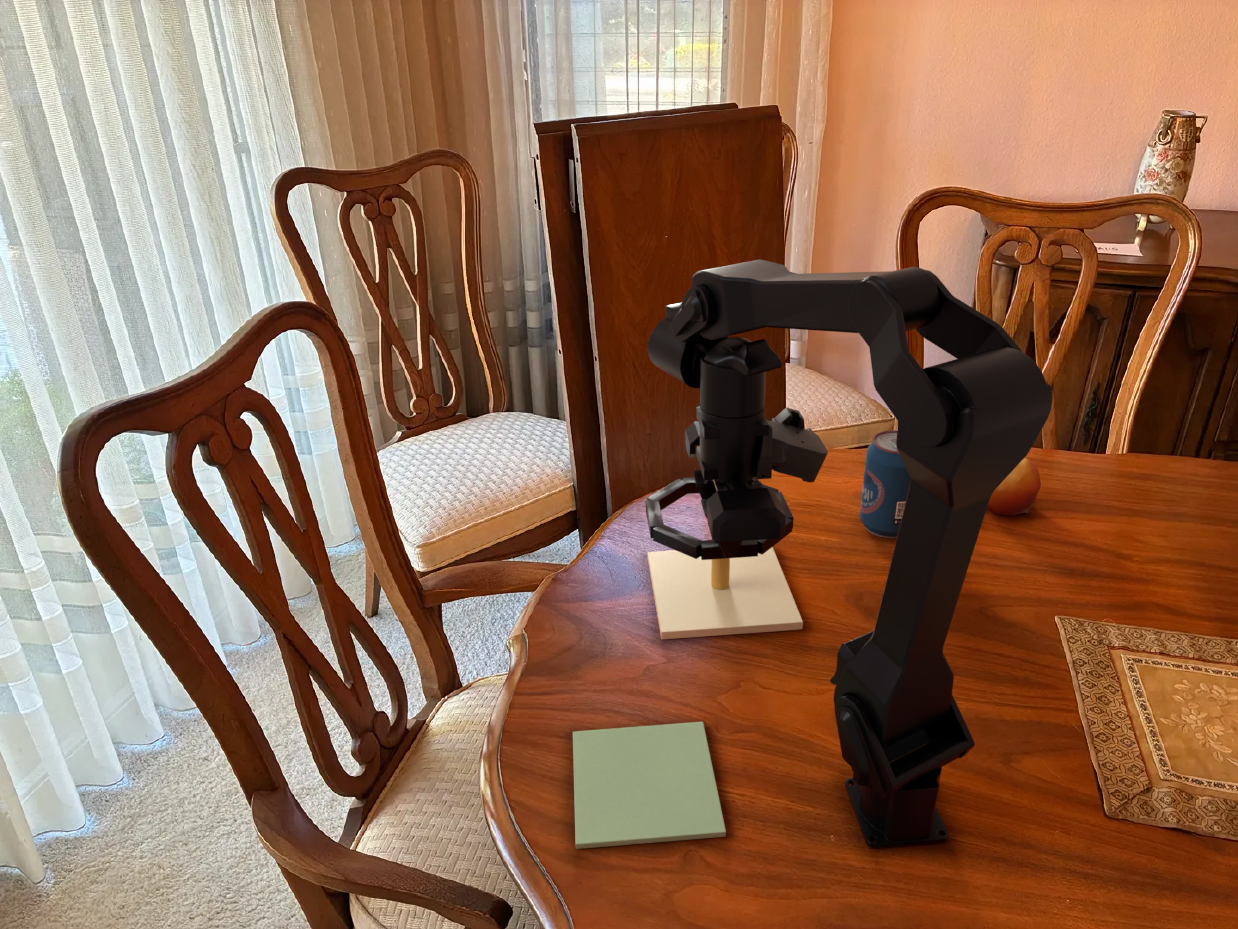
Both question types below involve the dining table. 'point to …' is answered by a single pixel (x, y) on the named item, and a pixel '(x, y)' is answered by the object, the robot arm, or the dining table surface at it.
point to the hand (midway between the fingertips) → (728, 551)
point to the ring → (695, 545)
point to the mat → (644, 786)
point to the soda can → (884, 486)
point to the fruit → (1016, 490)
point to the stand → (720, 595)
